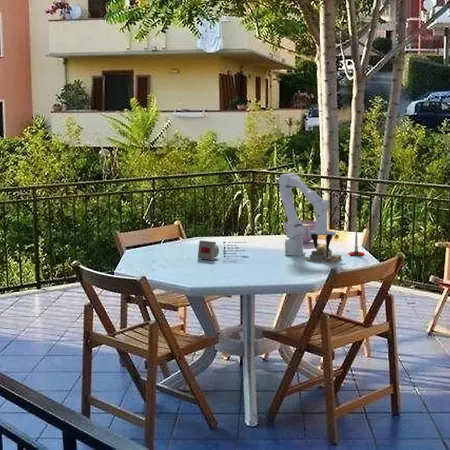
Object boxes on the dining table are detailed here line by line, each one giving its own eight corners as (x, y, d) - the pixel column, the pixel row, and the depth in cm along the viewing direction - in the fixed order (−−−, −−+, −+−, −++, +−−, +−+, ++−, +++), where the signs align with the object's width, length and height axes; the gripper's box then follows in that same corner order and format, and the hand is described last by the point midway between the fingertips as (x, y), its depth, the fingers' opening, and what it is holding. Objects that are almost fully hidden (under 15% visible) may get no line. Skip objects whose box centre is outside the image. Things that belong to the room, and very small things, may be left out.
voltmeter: (196, 261, 419) (196, 242, 418) (198, 257, 431) (197, 239, 429) (247, 260, 418) (246, 242, 417) (247, 256, 430) (247, 238, 428)
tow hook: (348, 253, 432) (348, 256, 423) (348, 230, 430) (348, 232, 421) (364, 253, 430) (364, 256, 421) (364, 230, 429) (364, 232, 420)
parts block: (326, 262, 407) (326, 258, 407) (331, 258, 417) (331, 254, 417) (335, 262, 405) (335, 259, 405) (341, 258, 415) (341, 255, 415)
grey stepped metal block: (307, 261, 412) (306, 251, 411) (316, 255, 427) (316, 245, 427) (325, 262, 408) (325, 252, 407) (334, 256, 424) (334, 246, 423)
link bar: (316, 253, 416) (316, 246, 415) (321, 250, 424) (321, 243, 423) (322, 253, 414) (322, 246, 414) (327, 250, 423) (326, 244, 422)
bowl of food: (319, 245, 457) (319, 225, 456) (284, 246, 458) (284, 226, 456) (315, 239, 477) (315, 220, 476) (282, 240, 478) (282, 221, 476)
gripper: (306, 223, 416) (306, 249, 418) (333, 224, 410) (333, 250, 412) (310, 221, 422) (310, 247, 424) (336, 222, 417) (336, 248, 419)
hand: (321, 248), depth 419 cm, fingers open, 5 cm apart
